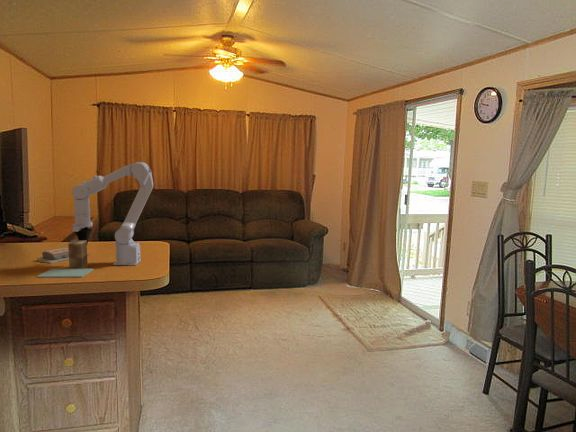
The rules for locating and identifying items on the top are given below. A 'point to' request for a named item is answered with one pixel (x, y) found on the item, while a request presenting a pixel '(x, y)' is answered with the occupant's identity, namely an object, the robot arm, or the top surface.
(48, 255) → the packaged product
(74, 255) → the walnut block
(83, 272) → the mat
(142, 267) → the top surface
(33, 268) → the top surface
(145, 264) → the top surface
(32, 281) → the top surface
